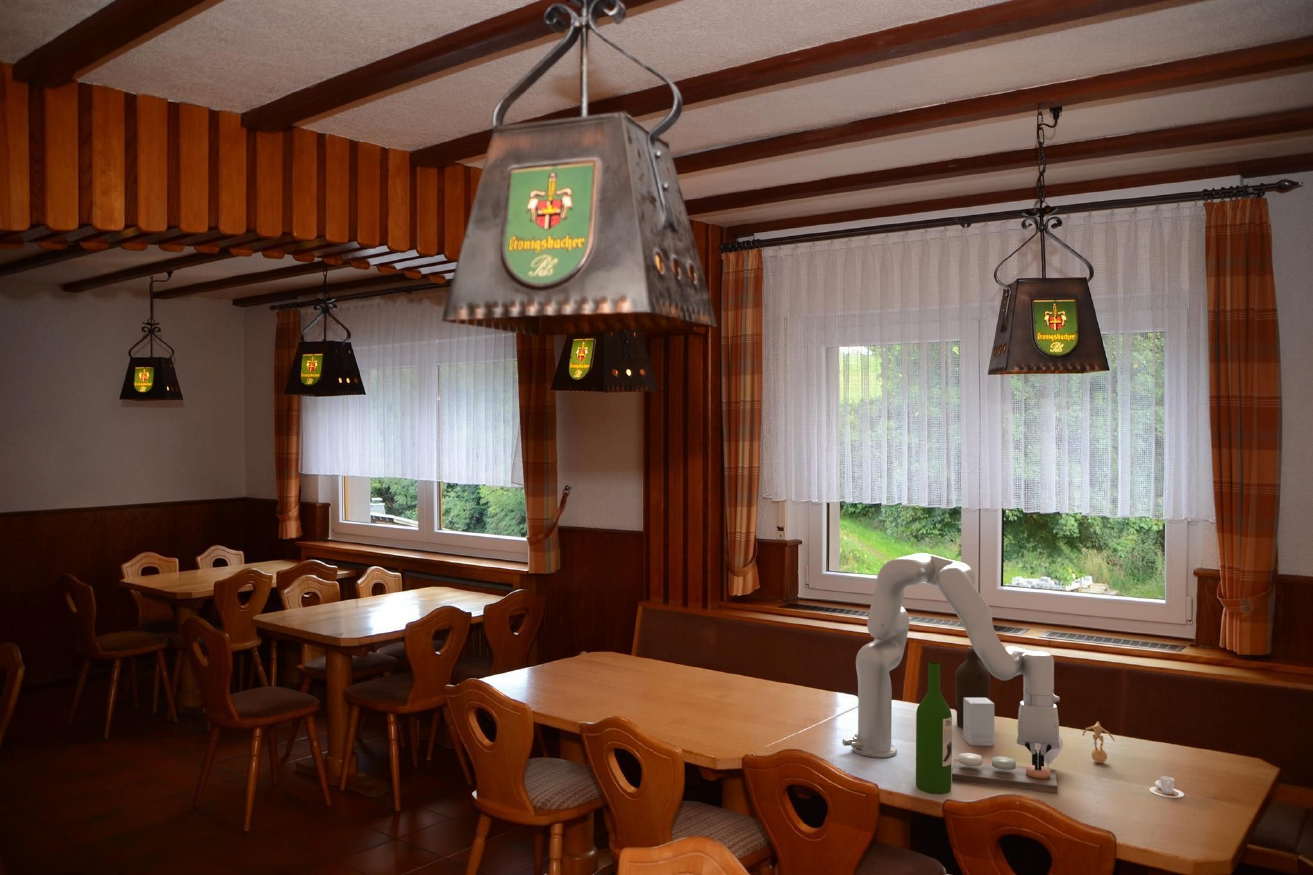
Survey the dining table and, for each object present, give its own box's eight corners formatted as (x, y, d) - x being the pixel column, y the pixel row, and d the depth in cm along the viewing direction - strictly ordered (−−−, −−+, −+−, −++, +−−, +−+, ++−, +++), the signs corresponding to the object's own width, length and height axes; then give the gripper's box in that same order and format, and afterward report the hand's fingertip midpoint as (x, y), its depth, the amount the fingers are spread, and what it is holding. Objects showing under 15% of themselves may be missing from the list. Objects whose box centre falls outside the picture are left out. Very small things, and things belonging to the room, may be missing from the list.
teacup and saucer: (1154, 785, 255) (1154, 769, 255) (1187, 792, 250) (1187, 776, 250) (1146, 794, 249) (1146, 778, 249) (1180, 801, 244) (1180, 785, 244)
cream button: (967, 766, 257) (967, 760, 257) (954, 759, 263) (954, 753, 263) (986, 764, 259) (986, 759, 259) (973, 757, 264) (973, 752, 264)
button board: (1057, 793, 247) (1057, 786, 247) (951, 781, 256) (951, 773, 256) (1054, 777, 259) (1054, 770, 260) (954, 765, 268) (954, 758, 268)
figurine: (1116, 763, 271) (1116, 721, 271) (1112, 769, 266) (1112, 726, 266) (1085, 758, 276) (1085, 716, 276) (1080, 763, 271) (1080, 721, 271)
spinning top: (1033, 770, 265) (1033, 726, 265) (1032, 761, 273) (1033, 719, 273) (1063, 773, 263) (1063, 729, 263) (1062, 764, 270) (1062, 722, 270)
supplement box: (995, 746, 286) (995, 703, 287) (970, 745, 287) (970, 703, 287) (987, 738, 294) (987, 697, 294) (962, 738, 294) (962, 696, 294)
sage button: (1001, 770, 254) (1001, 764, 254) (987, 763, 260) (987, 757, 260) (1020, 768, 256) (1020, 762, 256) (1006, 761, 262) (1006, 755, 262)
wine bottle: (946, 796, 245) (946, 668, 245) (911, 789, 249) (912, 664, 250) (955, 786, 252) (956, 662, 252) (921, 779, 257) (922, 657, 257)
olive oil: (996, 727, 306) (997, 648, 306) (976, 732, 299) (977, 652, 300) (967, 719, 314) (968, 642, 314) (947, 724, 308) (948, 646, 308)
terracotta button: (1035, 779, 251) (1035, 773, 251) (1020, 771, 257) (1020, 765, 257) (1055, 777, 253) (1055, 771, 253) (1040, 770, 259) (1040, 764, 259)
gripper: (1068, 698, 256) (1067, 767, 256) (1008, 693, 261) (1007, 760, 261) (1069, 705, 249) (1069, 776, 249) (1008, 699, 254) (1008, 769, 254)
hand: (1037, 768), depth 255 cm, fingers closed
